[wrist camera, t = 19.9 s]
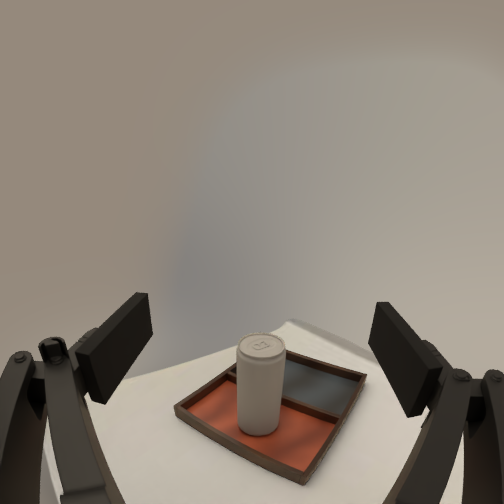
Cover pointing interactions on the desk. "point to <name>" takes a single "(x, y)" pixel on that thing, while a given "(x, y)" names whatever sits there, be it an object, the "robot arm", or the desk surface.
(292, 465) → the sorting tray
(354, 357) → the desk surface
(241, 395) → the beverage can
